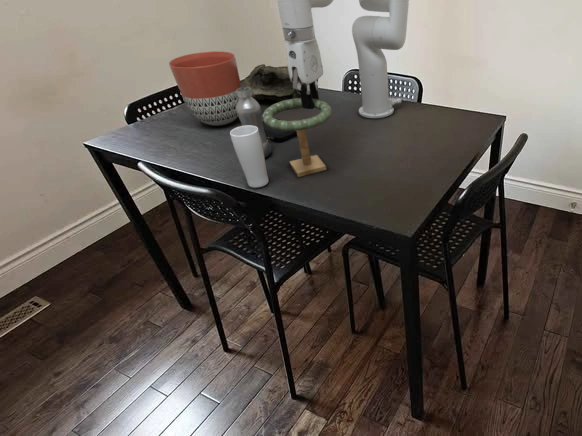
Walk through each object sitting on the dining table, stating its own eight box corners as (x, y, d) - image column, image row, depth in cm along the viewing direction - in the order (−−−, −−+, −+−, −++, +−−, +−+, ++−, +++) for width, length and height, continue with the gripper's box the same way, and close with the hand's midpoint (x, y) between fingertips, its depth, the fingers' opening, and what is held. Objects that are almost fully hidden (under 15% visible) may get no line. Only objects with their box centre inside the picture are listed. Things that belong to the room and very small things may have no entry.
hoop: (319, 100, 118) (318, 92, 116) (341, 122, 106) (340, 113, 104) (257, 113, 111) (255, 104, 110) (273, 138, 99) (271, 129, 98)
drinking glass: (248, 178, 112) (233, 125, 104) (274, 176, 113) (261, 124, 104) (242, 191, 107) (225, 137, 98) (269, 189, 107) (255, 135, 99)
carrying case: (248, 134, 136) (277, 145, 129) (246, 125, 134) (275, 136, 127) (275, 123, 143) (304, 133, 136) (273, 115, 141) (302, 124, 134)
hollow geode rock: (309, 120, 158) (325, 84, 158) (286, 105, 146) (303, 66, 147) (260, 104, 170) (275, 71, 171) (236, 89, 159) (252, 53, 160)
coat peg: (317, 158, 121) (310, 118, 114) (326, 169, 115) (319, 128, 108) (290, 165, 118) (281, 124, 111) (298, 177, 112) (289, 135, 105)
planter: (178, 129, 141) (154, 64, 128) (220, 109, 155) (202, 49, 143) (223, 137, 135) (202, 70, 122) (262, 116, 149) (247, 53, 137)
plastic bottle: (276, 153, 125) (261, 86, 113) (263, 163, 119) (245, 94, 108) (258, 150, 126) (241, 84, 115) (244, 160, 121) (224, 92, 110)
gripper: (296, 42, 96) (309, 118, 107) (327, 28, 109) (336, 97, 119) (268, 40, 98) (283, 115, 108) (301, 27, 110) (312, 95, 121)
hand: (311, 105), depth 114 cm, fingers closed on hoop, 2 cm apart
